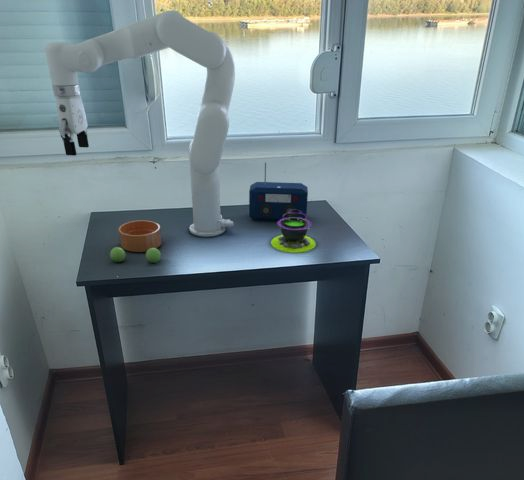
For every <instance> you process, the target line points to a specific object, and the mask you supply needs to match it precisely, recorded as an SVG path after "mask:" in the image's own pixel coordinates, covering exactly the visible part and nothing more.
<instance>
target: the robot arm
mask: <svg viewBox="0 0 524 480" xmlns="http://www.w3.org/2000/svg"><path fill="white" fill-rule="evenodd" d="M44 49H45V50H44V53H45V57H46V62H47V66H48V71H49V77H50V81H51V87H52V91H53V97H54V98H55V103H56V113H57V119H58V124H59V127H58V132H59V134H60V137H61V141H62V142H63V146H64V152H65V155H66V156H74V157H75V156H77V149H76V143H75V141H74V135H76V139H77V143H78V144H77V145H78V147H79V148H87V149H88V148H89V147H90V145H89V137H88V130H87V128H88V126H89V125H88V119H87V115H86V110H85V106H84V102H83V99H82V93H81V88H80V84H79V77H78V73H83V74H85V73H86V74H92V73H94V72H96V71H97V70H98V69H99V68H101V67H104V66H107V65H109V64H112V63H116V62H119V61H122V60H127V59H140V58H143V57H147V56H149V55H151V54H154V53H158V52H161V51H164V50H167V49H171V50H173V51H174V52H176V53H177V54H179V55H182V56H183V57H185V58H186V59H188V60H191V61H192V62H194V63H196V64H198V65H199V66H201V67H203V68H206V77H205V78H206V79H205V83H204V89H203V93H202V98H201V101H200V105H199V108H198V111H197V116H196V125H195V129H194V134H193V138H192V139H191V141H190V143H189V146H188V160H189V175H190V188H191V190H190V191H191V204H192V206H191V207H192V219H193V220H192V221H193V222H192V224H190V226H189V232H190V233H191V234H192V235H193V236H196V237H197V236H198V237H203V238H209V237H217V236H219V235H222V234H223V233H225V231H226V228H227V227H228V228H234V221H231V219H224V218H223V215H222V214H221V189H220V184H221V183H220V162H221V161H222V160H221V159H222V155H223V152H224V148H225V145H226V141H227V137H228V134H229V128H230V118H229V109H230V104H231V100H232V96H233V92H234V86H235V81H236V65H235V61H234V57H233V54H232V52H231V50H230V48H229V46H228V45H227V43H226V42H225V41H224V40H223V38H222V37H221V36H220V35H219V34H218V33H216V32H214V31H209V30H206V29H205V28H203V27H201V26H199V25H197V24H195V23H194V22H193V21H191V20H189V19H187V18H186V17H185V16H184V15H183V14H181V13H180V12H179V11H177V10H174V9H173V10H171V9H170V10H166V11H163V12H160V13H157V14H154V15H151V16H149V17H145V18H143V19H140V20H137V21H133V22H131V23H128V24H125V25H123V26H121V27H119V28H118V29H115V30H113V31H109V32H106V33H103V34H101V35H98V36H95V37H92V38H88V39H85V40H83V41H81V42H79V43H74V44H71V43H69V42H63V41H56V42H55V41H53V42H48V43H46V44H45V46H44Z"/></svg>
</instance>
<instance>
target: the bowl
mask: <svg viewBox="0 0 524 480" xmlns="http://www.w3.org/2000/svg"><path fill="white" fill-rule="evenodd" d="M161 231H162V229H161V225H160V224H159V223H157V222H156V221H152V220H143V219H142V220H141V219H139V220H132V221H127V222H125V223H123V224H121V225H119V227H118V235H119V242H120V248H122V249H123V250H124V251H125V250H126V251H128V252H130V253H131V252H132V253H146V252H147V250H148V249H150V248H156V249H158V248H159V247H160V246H161V245H162V243H163V240H162V239H163V238H162V232H161Z"/></svg>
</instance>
